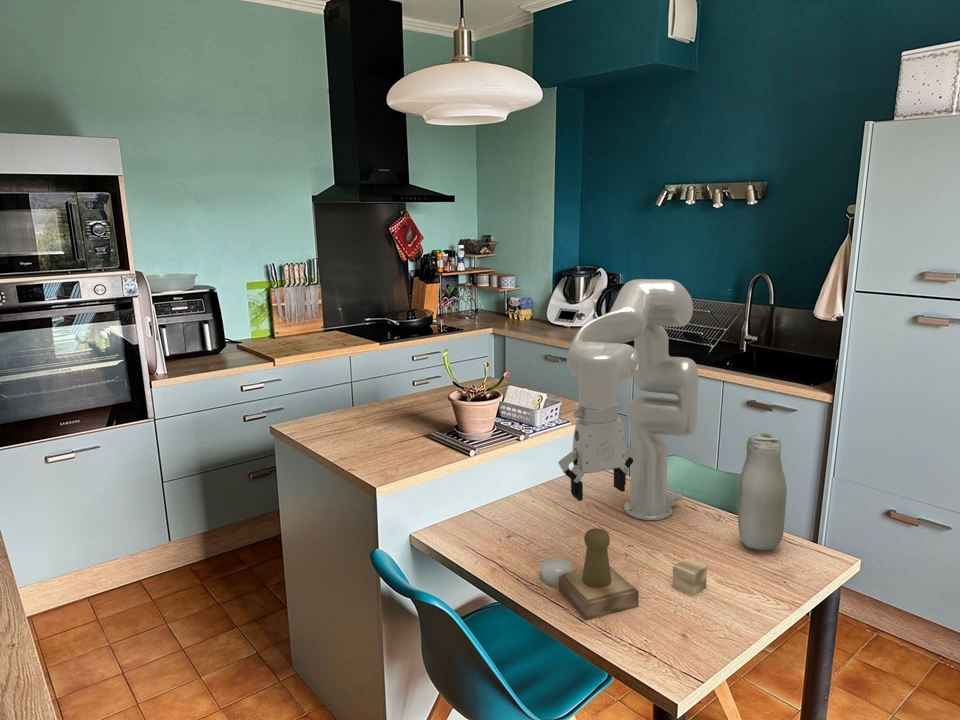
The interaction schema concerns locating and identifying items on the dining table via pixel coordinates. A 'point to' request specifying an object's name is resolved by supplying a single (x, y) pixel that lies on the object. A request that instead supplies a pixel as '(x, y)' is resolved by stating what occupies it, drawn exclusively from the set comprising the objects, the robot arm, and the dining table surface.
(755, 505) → the glass bottle
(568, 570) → the pale grey dome
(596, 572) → the pepper shaker
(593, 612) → the walnut stand
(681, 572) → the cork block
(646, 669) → the dining table surface
